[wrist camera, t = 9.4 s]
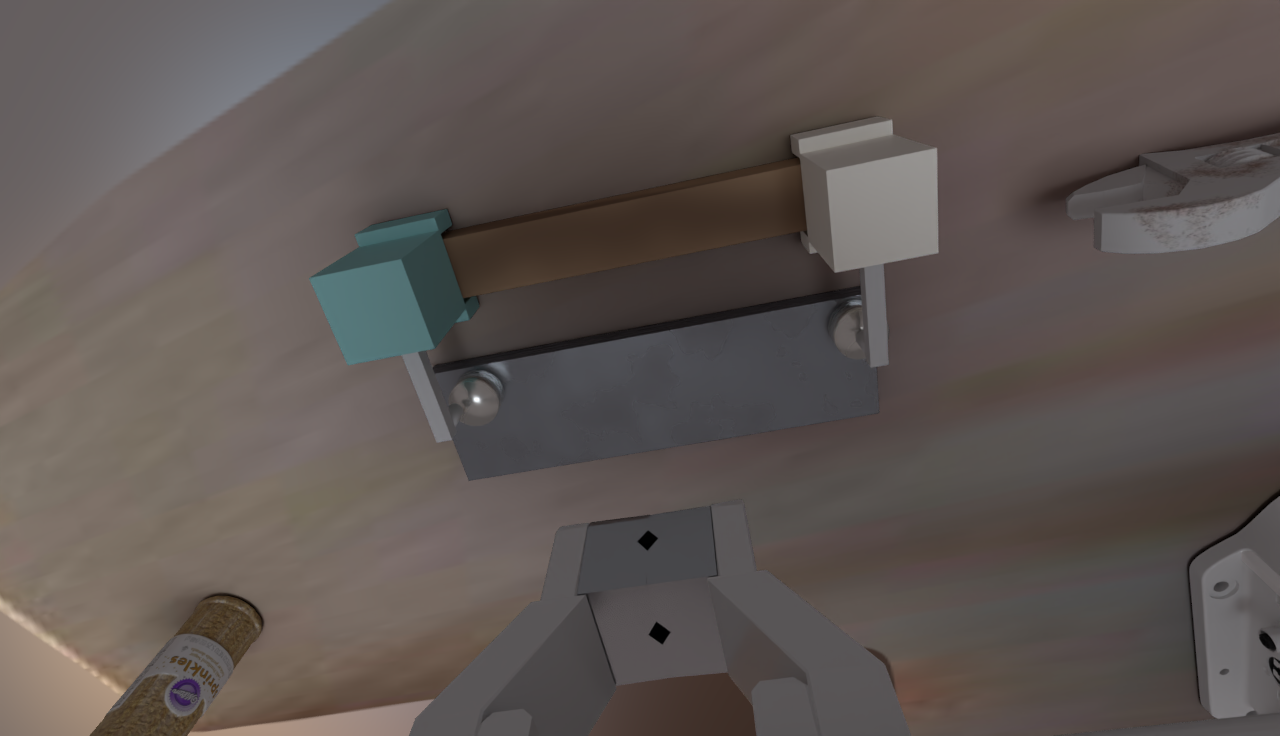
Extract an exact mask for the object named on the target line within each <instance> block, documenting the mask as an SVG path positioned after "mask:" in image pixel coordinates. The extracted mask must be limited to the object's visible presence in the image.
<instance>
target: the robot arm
mask: <svg viewBox="0 0 1280 736" xmlns="http://www.w3.org/2000/svg"><path fill="white" fill-rule="evenodd" d="M1189 575H1190V587H1191V599H1192V610H1193V622H1194V634H1195V646H1196V657H1197V669H1198V681H1199V692H1200V701H1201V704H1202V706H1203V707H1204V708H1205V709H1206V710H1207V711H1208V712H1209V713H1210V714H1211V715H1212V716H1213V717H1215V718H1218V719H1212V720H1202V721H1192V722H1182V723H1172V724H1163V725H1153V726H1143V727H1133V728H1124V729H1114V730H1104V731H1094V732H1084V733H1075V734H1065V735H1055V736H1280V496H1279V497H1278V498H1277V499H1275V500H1274V501H1273V502H1272V503H1270V504H1269V505H1268V506H1267V507H1266V508H1265V509H1264V510H1263V511H1262V512H1260V513H1259V514H1258V515H1257V516H1256V517H1255V518H1254V519H1253V520H1252V521H1251V522H1250V523H1249V524H1248V525H1247V526H1246V527H1244V528H1243V529H1242V530H1241V531H1239V532H1238V533H1237V534H1235V535H1233V536H1231V537H1230V538H1228V539H1226V540H1224V541H1222V542H1220V543H1218V544H1216V545H1215V546H1213V547H1211V548H1209V549H1208V550H1206V551H1205V552H1203V553H1202V554H1200V555H1199V556H1198V557H1196V558H1195V559H1194V560H1193V562H1192V563H1191V565H1190V568H1189ZM725 672H728V675H729V676H730V678H731V679H732V680H733V681H734V683H735V684H736V685H737V686H738V688H739V689H740V690H741V691H742V693H743V694H744V695H745V696H746V698H747V699H748V700H749V701H750V703H751V704H752V705H753V709H754V717H755V725H756V734H757V736H911V734H910V731H909V728H908V726H907V723H906V720H905V718H904V715H903V712H902V709H901V707H900V704H899V701H898V699H897V696H896V693H895V691H894V688H893V685H892V682H891V680H890V677H889V674H888V672H887V670H886V666H885V664H884V663H882V662H881V661H880V660H879V659H878V658H876V657H875V656H874V655H872V654H871V653H870V652H869V651H867V650H866V649H865V648H864V647H863V646H861V645H860V644H859V643H858V642H856V641H855V640H854V639H853V638H851V637H850V636H849V635H847V634H846V633H845V632H844V631H842V630H841V629H840V628H839V627H837V626H836V625H835V624H834V623H832V622H831V621H830V620H829V619H827V618H826V617H825V616H824V615H822V614H821V613H820V612H819V611H817V610H816V609H815V608H814V607H812V606H811V605H810V604H809V603H807V602H806V601H805V600H804V599H802V598H801V597H800V596H799V595H797V594H796V593H795V592H794V591H792V590H791V589H790V588H789V587H787V586H786V585H785V584H784V583H782V582H781V581H780V580H779V579H777V578H776V577H775V576H774V575H772V574H771V573H770V572H769V571H767V570H761V571H757V569H756V563H755V558H754V553H753V547H752V542H751V536H750V531H749V526H748V520H747V515H746V510H745V504H744V502H743V500H742V499H739V500H734V501H728V502H723V503H717V504H712V505H711V506H706V507H700V508H693V509H687V510H680V511H674V512H667V513H661V514H654V515H644V516H636V517H628V518H620V519H612V520H605V521H597V522H591V523H583V524H576V525H569V526H562V527H560V528H559V529H558V531H557V532H556V535H555V539H554V543H553V548H552V552H551V556H550V561H549V565H548V569H547V574H546V578H545V582H544V586H543V591H542V595H541V599H540V601H536V602H531V603H530V604H529V605H528V606H527V607H526V608H525V609H524V610H523V611H522V612H521V613H520V614H519V615H518V616H517V617H516V618H515V619H514V620H513V621H512V622H511V623H510V624H509V625H508V626H507V627H506V628H505V629H504V630H503V631H502V632H501V633H500V634H499V635H498V636H497V637H496V638H495V639H494V640H493V641H492V642H491V643H490V644H489V645H488V646H487V647H486V648H485V649H484V650H483V651H482V652H481V653H480V654H479V655H478V656H477V657H476V658H475V659H474V660H473V661H472V662H471V663H470V664H469V665H468V666H467V667H466V668H465V669H464V670H463V671H462V672H461V673H460V674H459V675H458V676H457V677H456V678H455V679H454V680H453V681H452V682H451V683H450V684H449V685H448V686H447V687H446V688H445V689H444V690H443V691H442V692H441V693H440V694H439V695H438V696H437V697H436V698H435V699H434V700H433V701H432V702H431V704H429V705H428V707H427V708H425V710H424V711H423V712H422V713H421V714H420V715H419V716H418V717H417V718H416V719H415V721H414V724H413V727H412V729H411V732H410V734H409V736H588V735H589V733H590V732H591V730H592V728H593V727H594V725H595V724H596V722H597V720H598V719H599V717H600V715H601V713H602V712H603V710H604V709H605V707H606V705H607V704H608V702H609V701H610V699H611V697H612V696H613V694H614V692H615V691H616V686H617V685H623V684H630V683H637V682H643V681H651V680H657V679H664V678H671V677H682V676H693V675H704V674H714V673H725Z"/></svg>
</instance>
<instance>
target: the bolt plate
mask: <svg viewBox="0 0 1280 736" xmlns="http://www.w3.org/2000/svg"><path fill="white" fill-rule="evenodd" d="M862 330H864V329H863V314H862V299H861V286H858V287H853V288H847V289H842V290H837V291H831V292H826V293H821V294H815V295H810V296H805V297H799V298H794V299H789V300H783V301H778V302H772V303H767V304H762V305H756V306H751V307H746V308H740V309H735V310H730V311H724V312H719V313H714V314H708V315H703V316H697V317H692V318H687V319H681V320H676V321H671V322H665V323H660V324H655V325H649V326H644V327H639V328H633V329H628V330H622V331H617V332H612V333H606V334H601V335H596V336H590V337H585V338H580V339H574V340H569V341H564V342H558V343H553V344H548V345H542V346H537V347H531V348H526V349H521V350H515V351H510V352H505V353H499V354H494V355H489V356H483V357H478V358H473V359H467V360H462V361H456V362H451V363H446V364H440V365H435V366H434V367H433V371H434V373H435V376H436V378H437V381H438V384H439V386H440V389H441V391H442V394H443V397H444V399H445V402H446V404H447V407H449V406H450V405H451V404H459V405H460V406H462V408H463V414H462V416H461V418H460V420H459V422H458V423H457V425H456V427H455V428H456V430H457V432H456V434H455V436H454V438H453V441H454V444H455V447H456V449H457V452H458V454H459V457H460V459H461V462H462V464H463V467H464V470H465V472H466V475H467V477H468V480H469V481H470V480H476V479H483V478H489V477H495V476H501V475H507V474H513V473H519V472H525V471H531V470H537V469H543V468H549V467H555V466H562V465H568V464H574V463H580V462H586V461H592V460H598V459H604V458H610V457H616V456H622V455H628V454H634V453H641V452H647V451H653V450H659V449H665V448H671V447H677V446H683V445H689V444H695V443H701V442H707V441H713V440H720V439H726V438H732V437H738V436H744V435H750V434H756V433H762V432H768V431H774V430H780V429H786V428H792V427H799V426H805V425H811V424H817V423H823V422H829V421H835V420H841V419H847V418H853V417H859V416H865V415H871V414H878V413H879V399H878V383H877V367H872V368H871V367H870V366H869V364H868V363H867V362H866V358H865V353H864V352H863V351H862V349H861V348H860V346H859V345H858V343H857V342H856V335H857V334H858V333H859V332H860V331H862ZM888 338H889V326H888V323H887V339H888Z"/></svg>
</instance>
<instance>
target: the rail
mask: <svg viewBox="0 0 1280 736" xmlns="http://www.w3.org/2000/svg"><path fill="white" fill-rule="evenodd" d="M806 230H807V223H806V213H805V203H804V193H803V183H802V173H801V163H800V158H799V157H797V158H793V159H788V160H783V161H778V162H774V163H769V164H764V165H759V166H755V167H750V168H745V169H740V170H736V171H731V172H726V173H721V174H717V175H712V176H707V177H702V178H698V179H693V180H688V181H684V182H679V183H674V184H669V185H665V186H660V187H655V188H650V189H646V190H641V191H636V192H631V193H627V194H622V195H617V196H612V197H608V198H603V199H598V200H593V201H589V202H584V203H579V204H574V205H570V206H565V207H560V208H555V209H551V210H546V211H541V212H537V213H532V214H527V215H522V216H518V217H513V218H508V219H503V220H499V221H494V222H489V223H484V224H480V225H475V226H470V227H465V228H461V229H456V230H451V231H446V232H442V233H441V236H442V239H443V242H444V245H445V248H446V251H447V254H448V257H449V259H450V262H451V265H452V268H453V271H454V274H455V277H456V280H457V283H458V286H459V288H460V291H461V294H462V297H463V298H467V297H472V296H477V295H482V294H487V293H492V292H498V291H503V290H508V289H513V288H518V287H523V286H528V285H533V284H538V283H543V282H548V281H553V280H558V279H563V278H568V277H573V276H578V275H583V274H588V273H593V272H599V271H604V270H609V269H614V268H619V267H624V266H629V265H634V264H639V263H644V262H649V261H654V260H659V259H664V258H669V257H674V256H679V255H684V254H689V253H694V252H700V251H705V250H710V249H715V248H720V247H725V246H730V245H735V244H740V243H745V242H750V241H755V240H760V239H765V238H770V237H775V236H780V235H785V234H790V233H795V232H801V231H806Z"/></svg>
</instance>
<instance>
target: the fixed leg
mask: <svg viewBox="0 0 1280 736" xmlns="http://www.w3.org/2000/svg"><path fill="white" fill-rule="evenodd" d="M790 139H791V149H792V153H793V154H795V155H796V156H797V157H799V158H800V163H801V173H802V183H803V193H804V203H805V213H806V223H807V230H806V231H801V232H800V234H801V243H802V245H803V246H804V247H805V248H806V250H807V251H808V252H809V253H810V254H813V253H819V255H820V256H821V257H822V258H823V259H824V261H825V262H826V263H827V264H828V265H829V266H830V268H831V269H832V270H833V271H834V272H835V273H837V272H842V271H847V270H852V269H858V268H859V270H860V284H861V299H862V314H863V329H864V330H862V331H860V332H859V333H858V334H857V335H856V342H857V343H858V345H859V346H860V348H861V349H862V351H863V352H864V353H865V358H866V362H867V363H868V364H869V366H870V367H871V368H872V367H878V366H884V365H889V359H888V339H887V320H886V300H885V281H884V263H889V262H895V261H900V260H905V259H910V258H916V257H921V256H926V255H931V254H937V253H938V186H937V148H936V147H932V146H929V145H926V144H923V143H919V142H916V141H913V140H910V139H907V138H903V137H900V136H897V135H894V134H893V128H892V120H891V119H887V118H883V117H879V116H876V117H872V118H867V119H863V120H858V121H853V122H849V123H844V124H839V125H835V126H830V127H825V128H821V129H816V130H811V131H807V132H802V133H797V134H793V135H790Z"/></svg>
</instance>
